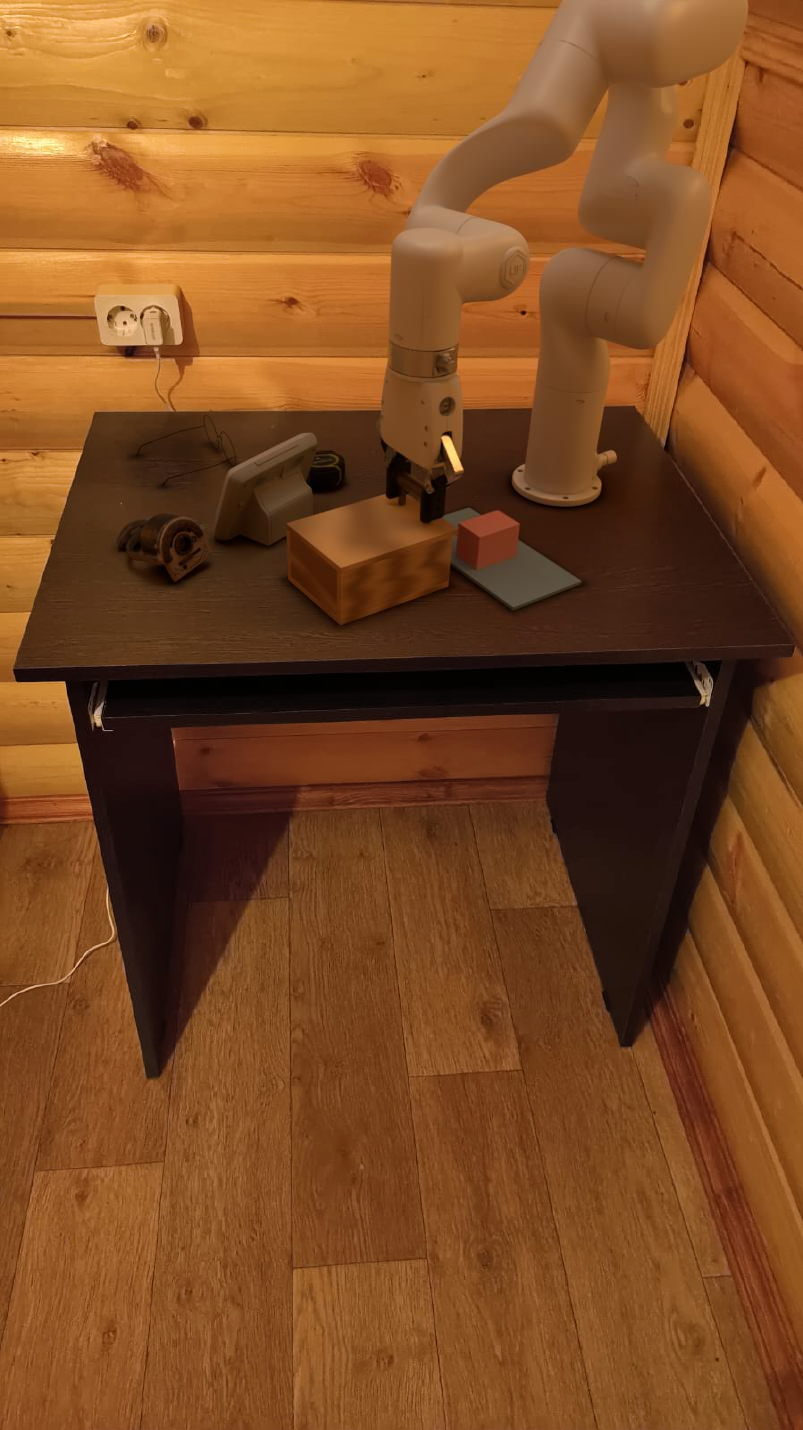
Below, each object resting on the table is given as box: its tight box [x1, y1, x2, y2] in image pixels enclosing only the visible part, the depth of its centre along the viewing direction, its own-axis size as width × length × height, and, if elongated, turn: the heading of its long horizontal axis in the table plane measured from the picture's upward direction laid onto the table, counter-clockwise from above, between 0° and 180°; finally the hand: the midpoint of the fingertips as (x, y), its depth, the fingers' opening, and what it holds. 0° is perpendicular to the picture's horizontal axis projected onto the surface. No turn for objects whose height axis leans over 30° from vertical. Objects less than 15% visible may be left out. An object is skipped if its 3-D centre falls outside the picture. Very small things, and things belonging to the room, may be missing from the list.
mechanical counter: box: [116, 512, 213, 583], centre depth 123 cm, size 7×13×10 cm
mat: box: [442, 507, 582, 612], centre depth 129 cm, size 11×22×1 cm, turn 36°
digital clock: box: [212, 432, 319, 547], centre depth 130 cm, size 16×9×11 cm, turn 133°
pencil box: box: [286, 530, 453, 626], centre depth 121 cm, size 16×12×7 cm
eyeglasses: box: [135, 414, 237, 487], centre depth 144 cm, size 11×13×5 cm
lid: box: [286, 471, 459, 574], centre depth 118 cm, size 16×12×5 cm
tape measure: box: [306, 449, 346, 489], centre depth 142 cm, size 7×7×4 cm
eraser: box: [456, 509, 521, 570], centre depth 127 cm, size 6×4×5 cm, turn 126°
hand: (414, 506), depth 121 cm, fingers closed on lid, 6 cm apart
